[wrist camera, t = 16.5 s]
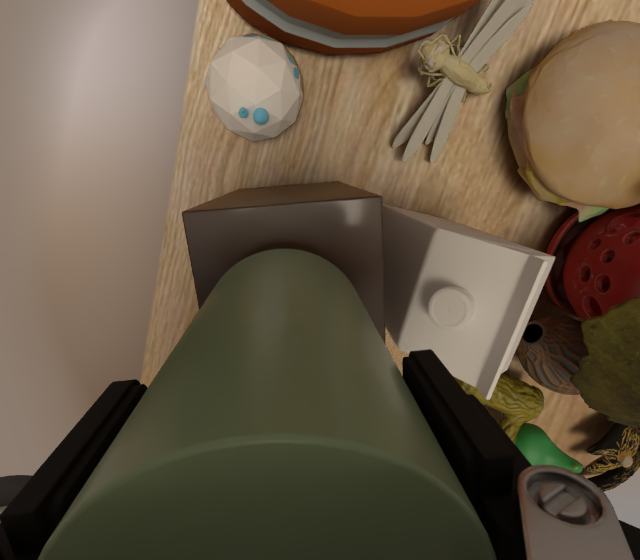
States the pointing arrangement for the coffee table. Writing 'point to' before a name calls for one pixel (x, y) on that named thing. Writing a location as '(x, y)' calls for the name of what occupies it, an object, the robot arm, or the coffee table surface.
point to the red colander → (595, 262)
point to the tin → (275, 440)
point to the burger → (581, 120)
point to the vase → (552, 352)
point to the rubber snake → (615, 456)
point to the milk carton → (458, 293)
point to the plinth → (292, 234)
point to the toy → (458, 74)
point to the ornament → (255, 86)
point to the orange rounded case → (350, 22)
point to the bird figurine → (519, 408)
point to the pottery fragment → (612, 363)
